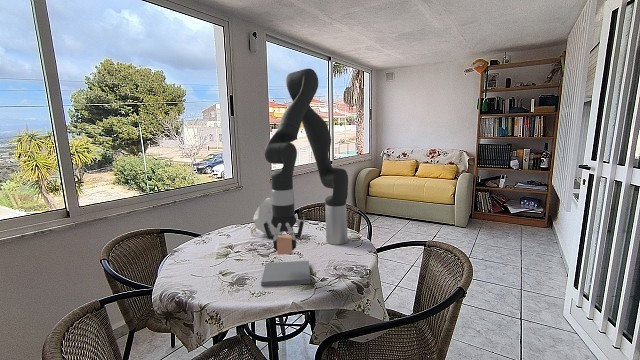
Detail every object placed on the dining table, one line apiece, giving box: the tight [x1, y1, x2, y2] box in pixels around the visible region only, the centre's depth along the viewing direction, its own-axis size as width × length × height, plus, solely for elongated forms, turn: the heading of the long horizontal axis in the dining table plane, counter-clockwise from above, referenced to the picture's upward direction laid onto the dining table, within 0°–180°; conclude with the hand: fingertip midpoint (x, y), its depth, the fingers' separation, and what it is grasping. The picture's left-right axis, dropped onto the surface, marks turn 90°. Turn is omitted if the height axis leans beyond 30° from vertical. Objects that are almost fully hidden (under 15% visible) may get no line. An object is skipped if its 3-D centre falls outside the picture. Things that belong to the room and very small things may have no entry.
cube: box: [276, 234, 294, 256], centre depth 103 cm, size 5×5×5 cm
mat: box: [260, 260, 311, 287], centre depth 105 cm, size 16×14×2 cm
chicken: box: [250, 197, 290, 236], centre depth 144 cm, size 7×19×20 cm
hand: (285, 249), depth 103 cm, fingers closed on cube, 5 cm apart
